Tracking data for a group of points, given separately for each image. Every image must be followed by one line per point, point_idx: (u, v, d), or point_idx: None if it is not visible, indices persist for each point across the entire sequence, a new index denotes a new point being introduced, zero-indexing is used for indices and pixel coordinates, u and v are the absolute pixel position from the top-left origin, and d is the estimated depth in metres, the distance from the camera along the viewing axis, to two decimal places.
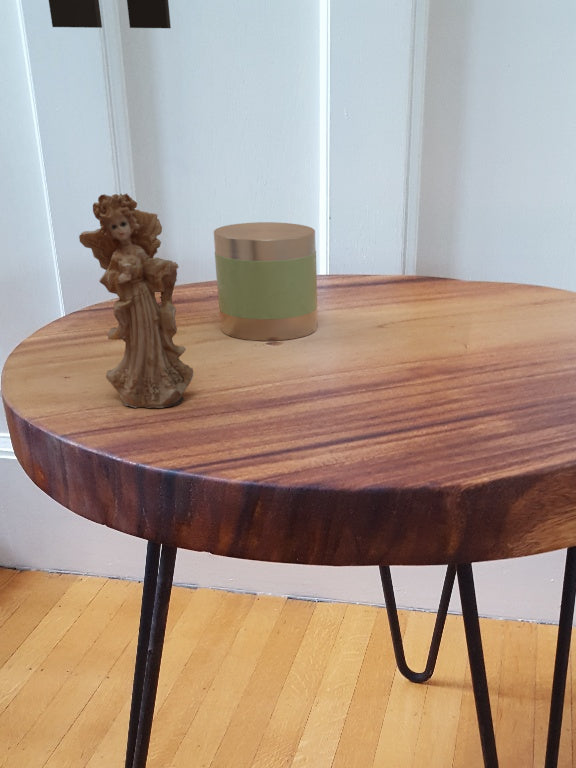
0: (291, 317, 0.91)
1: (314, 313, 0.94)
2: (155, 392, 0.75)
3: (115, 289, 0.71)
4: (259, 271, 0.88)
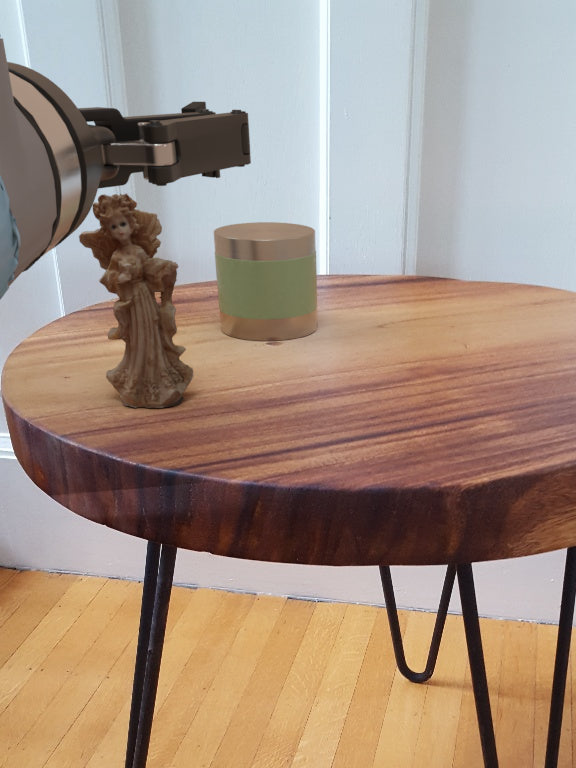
0: (291, 317, 0.91)
1: (314, 313, 0.94)
2: (155, 392, 0.75)
3: (115, 289, 0.71)
4: (259, 271, 0.88)
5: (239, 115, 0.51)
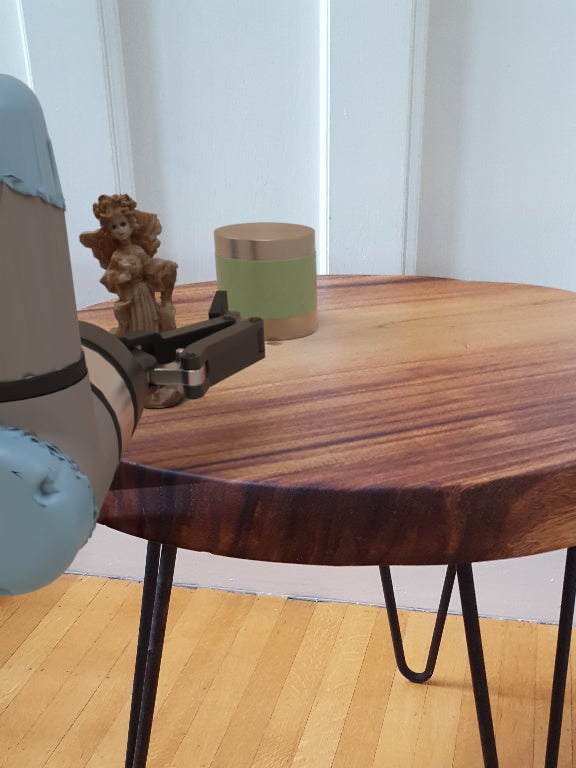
0: (291, 317, 0.91)
1: (314, 313, 0.94)
2: (155, 392, 0.75)
3: (115, 289, 0.71)
4: (259, 271, 0.88)
5: (256, 324, 0.62)
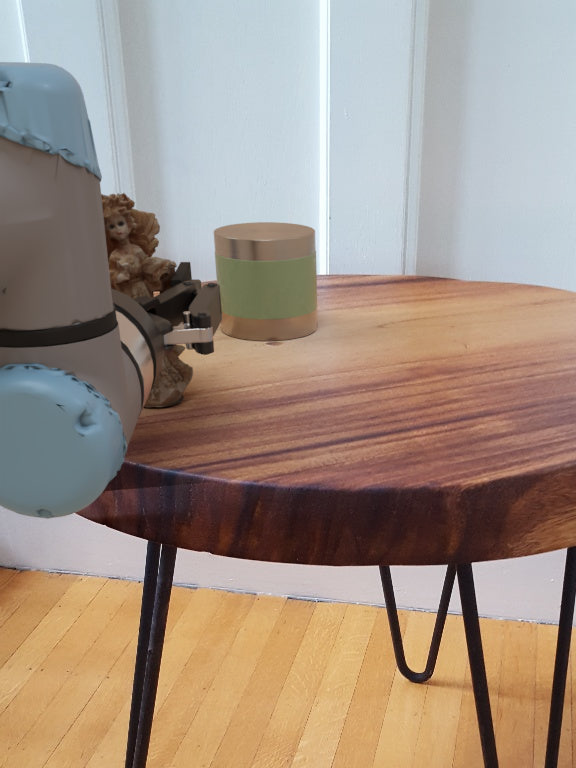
0: (291, 317, 0.91)
1: (314, 313, 0.94)
2: (154, 392, 0.75)
3: None
4: (259, 271, 0.88)
5: (218, 288, 0.69)
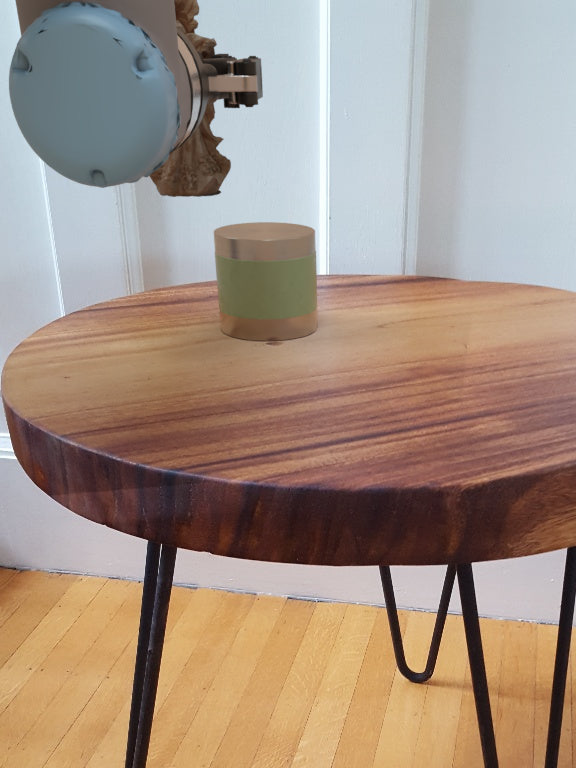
0: (291, 317, 0.91)
1: (314, 313, 0.94)
2: (192, 180, 0.74)
3: None
4: (259, 271, 0.88)
5: (259, 59, 0.68)
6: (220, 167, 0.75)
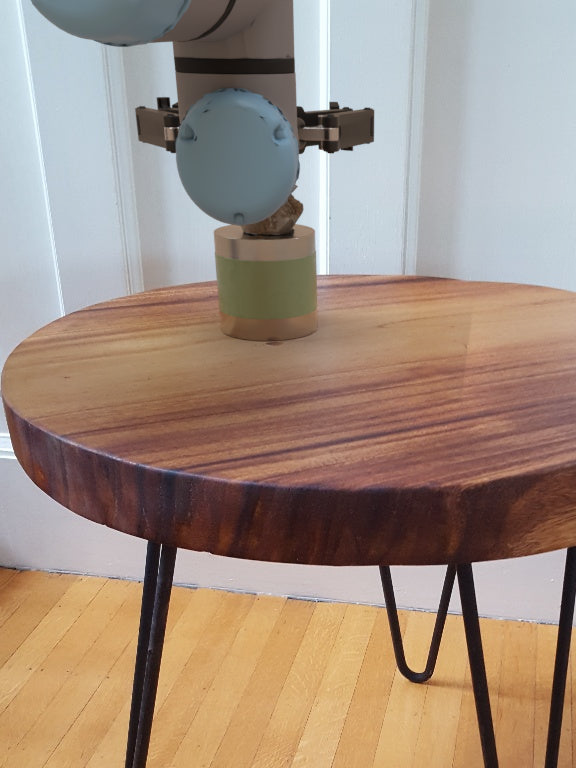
0: (291, 317, 0.91)
1: (314, 313, 0.94)
2: (272, 221, 0.88)
3: None
4: (259, 271, 0.88)
5: (370, 111, 0.81)
6: (295, 210, 0.89)
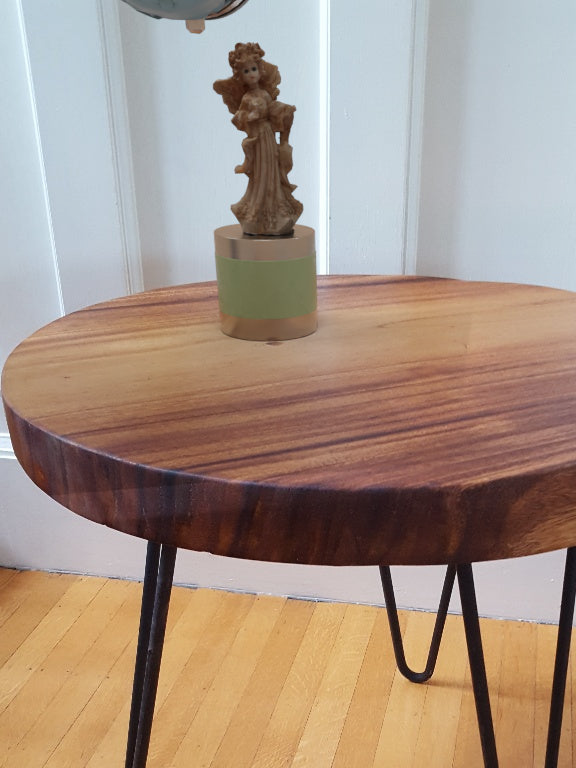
0: (291, 317, 0.91)
1: (314, 313, 0.94)
2: (272, 221, 0.88)
3: (244, 127, 0.85)
4: (259, 271, 0.88)
5: None
6: (295, 210, 0.89)
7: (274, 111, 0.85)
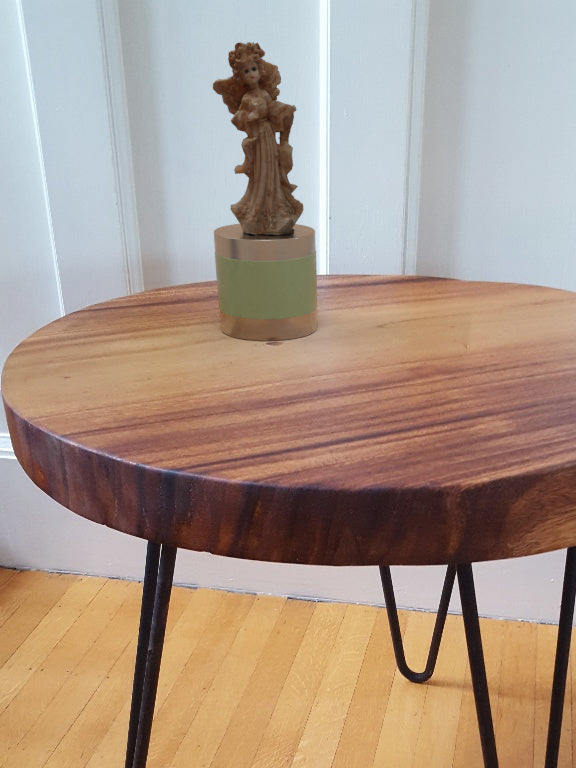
0: (291, 317, 0.91)
1: (314, 313, 0.94)
2: (272, 221, 0.88)
3: (244, 127, 0.85)
4: (259, 271, 0.88)
5: None
6: (295, 210, 0.89)
7: (274, 111, 0.85)
